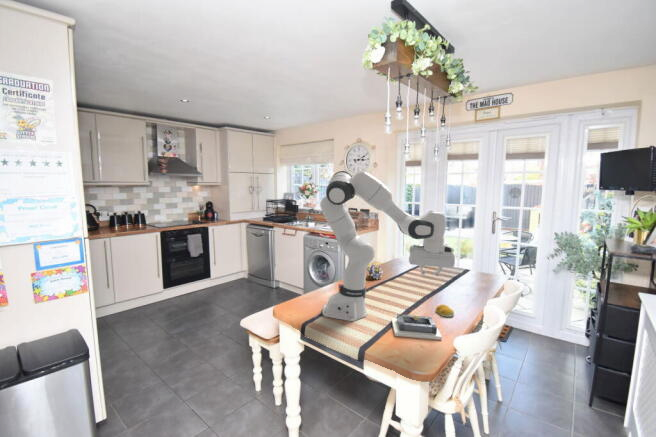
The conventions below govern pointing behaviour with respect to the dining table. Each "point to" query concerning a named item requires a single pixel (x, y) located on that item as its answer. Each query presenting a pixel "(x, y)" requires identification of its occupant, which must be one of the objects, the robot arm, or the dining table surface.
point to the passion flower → (375, 271)
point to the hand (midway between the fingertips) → (429, 274)
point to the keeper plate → (414, 334)
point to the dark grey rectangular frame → (423, 324)
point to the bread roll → (444, 311)
